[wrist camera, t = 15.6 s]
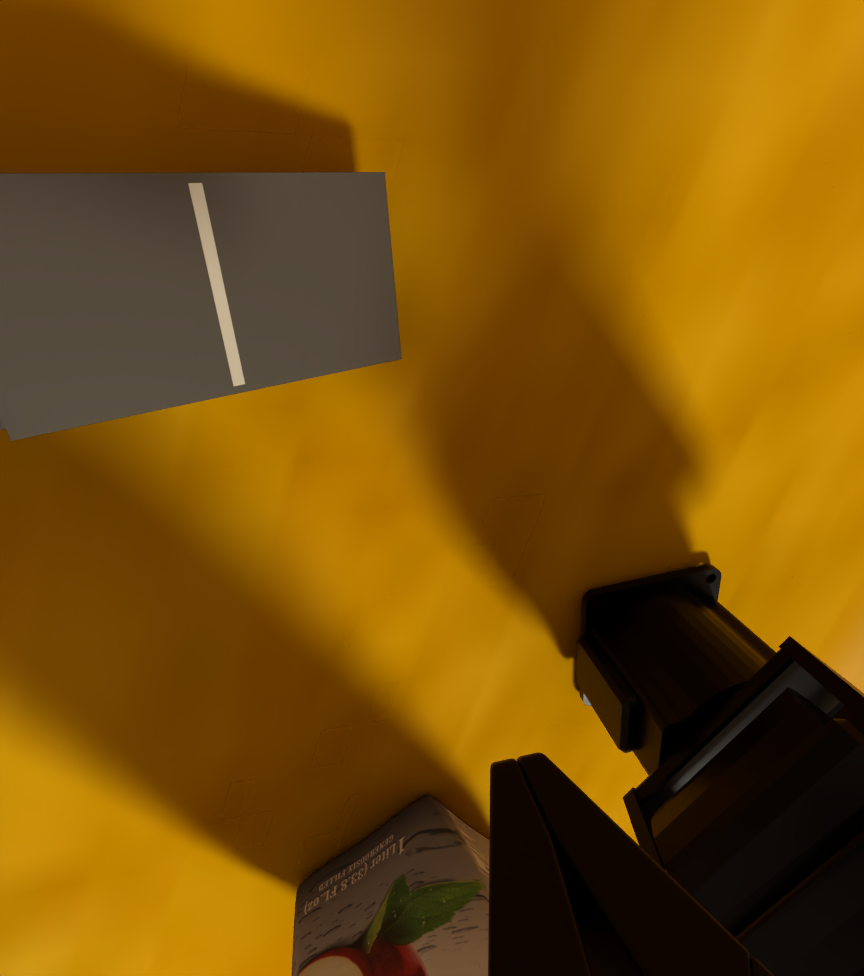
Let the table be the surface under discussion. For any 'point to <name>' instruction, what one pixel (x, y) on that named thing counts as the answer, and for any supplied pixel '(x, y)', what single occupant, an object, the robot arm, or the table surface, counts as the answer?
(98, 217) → the domino
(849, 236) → the table surface
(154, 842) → the table surface
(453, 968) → the juice carton
